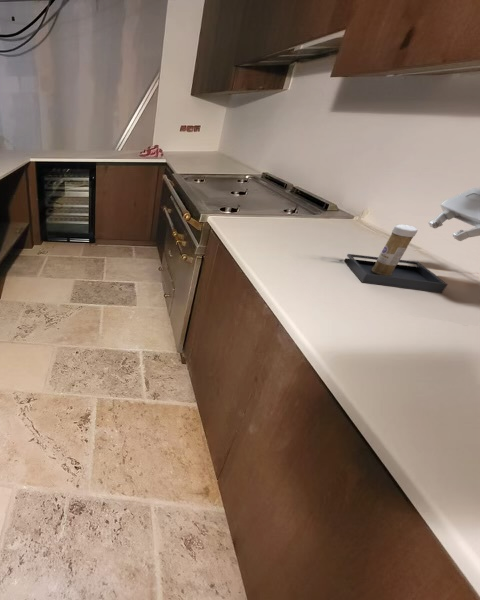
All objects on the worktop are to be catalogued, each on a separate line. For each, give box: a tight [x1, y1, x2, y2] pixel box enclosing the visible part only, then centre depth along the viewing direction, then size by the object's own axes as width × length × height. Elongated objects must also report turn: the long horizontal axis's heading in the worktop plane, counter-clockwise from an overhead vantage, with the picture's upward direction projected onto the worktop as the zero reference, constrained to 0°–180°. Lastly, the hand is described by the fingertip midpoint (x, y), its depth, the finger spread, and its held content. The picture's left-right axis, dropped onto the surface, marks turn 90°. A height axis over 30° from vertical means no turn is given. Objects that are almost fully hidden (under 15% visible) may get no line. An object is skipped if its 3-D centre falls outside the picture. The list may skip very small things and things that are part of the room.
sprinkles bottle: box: [371, 224, 419, 276], centre depth 86 cm, size 5×5×13 cm
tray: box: [344, 253, 449, 294], centre depth 89 cm, size 17×14×2 cm
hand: (442, 231), depth 81 cm, fingers open, 8 cm apart
